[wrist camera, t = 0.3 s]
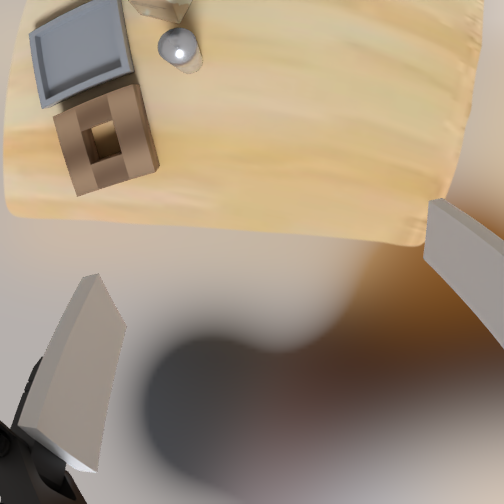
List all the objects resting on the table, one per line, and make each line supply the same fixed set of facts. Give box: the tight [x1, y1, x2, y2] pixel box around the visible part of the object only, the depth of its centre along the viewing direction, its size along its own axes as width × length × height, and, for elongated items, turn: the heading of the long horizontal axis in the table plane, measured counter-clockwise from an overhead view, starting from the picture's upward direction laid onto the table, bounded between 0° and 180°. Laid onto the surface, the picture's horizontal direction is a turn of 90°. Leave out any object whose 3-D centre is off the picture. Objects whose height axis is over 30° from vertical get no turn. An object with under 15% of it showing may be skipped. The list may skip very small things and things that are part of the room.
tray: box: [29, 0, 135, 109], centre depth 24 cm, size 11×12×2 cm
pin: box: [158, 28, 203, 74], centre depth 23 cm, size 3×3×12 cm
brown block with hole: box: [53, 84, 160, 197], centre depth 29 cm, size 10×10×3 cm
